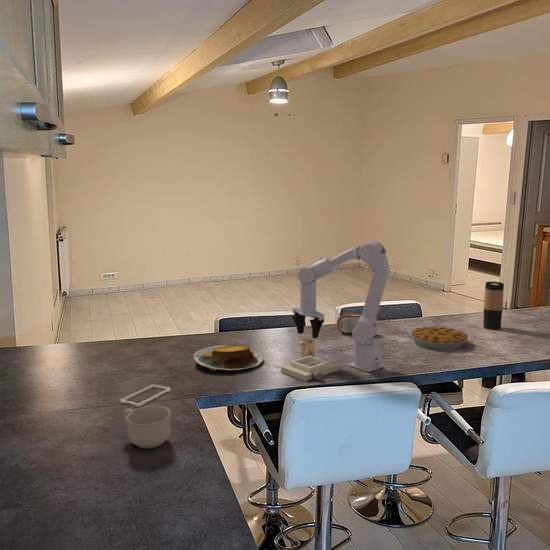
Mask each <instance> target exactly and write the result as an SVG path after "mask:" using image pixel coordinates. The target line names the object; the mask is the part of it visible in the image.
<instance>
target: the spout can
mask: <svg viewBox="0 0 550 550" xmlns="http://www.w3.org/2000/svg"><path fill="white" fill-rule="evenodd" d="M299 346H301V348H300V350H301V351H300V353H301V354H300V356H301V357H300V358H303V357H306V356H313V357H316V356H315V355H316V338H313V337H303V338H301V339H300V342H299Z"/></svg>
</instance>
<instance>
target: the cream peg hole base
mask: <svg viewBox="0 0 550 550" xmlns="http://www.w3.org/2000/svg"><path fill="white" fill-rule="evenodd" d="M339 367H340V366H339V364H338V363H334V362H331V361H328V360H326V359H325V360H324V359H323V358H320V357H316V356H315V357H313V356H306V357H303V358H301V357H299V358H297V359H294V360H290V362H289V364H288V363H287V364H286V365H283V366H281V367H280V373H281V372H282V374H284V373H285V374H284V375H287V376H289V375H290V376H289V377H292V376H293V378H295V379H298V380H300V379H301V381H302V382H308V380H309V381H312V380H315V381H318V382H321V381H323V379H324V376H325V375H329V374H332V373H335V372H338V371H339ZM337 370H338V371H337ZM334 371H335V372H334ZM331 372H332V373H331ZM328 373H329V374H328ZM311 379H312V380H311Z"/></svg>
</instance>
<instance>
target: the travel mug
mask: <svg viewBox="0 0 550 550" xmlns="http://www.w3.org/2000/svg"><path fill="white" fill-rule="evenodd" d="M484 285H485V286H484V288H485V289H484V298H483V299H484V300H483V302H484V303H483V327H482V328H484V329H486V330H490V331H491V330H492V331H499V330H501V328H502V319H503V306H504V286H505V284H504V282H499V281H486V282H485V284H484Z"/></svg>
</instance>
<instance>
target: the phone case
mask: <svg viewBox="0 0 550 550" xmlns="http://www.w3.org/2000/svg"><path fill="white" fill-rule="evenodd" d="M153 388H156V389H161V390H162V391H160V392H159V393H156V394H155V395H154V396H151V397H150V398H147V399H146V400H142V401H141V402H139V403H137V402H133V401H130V400H129V399H132V398H134V397H136V396H137V395H140V394H142V393H143V392H146V391H148V390H150V389H153ZM169 392H171V387H169V386H164V385H159V384H151V385H148V386H146V387H143V388H142V389H140V390H138V391H135V392H133V393H131V394H129V395H127V396H125V397H123V398H121V399H120V403H121V404H124V403H127V404H128V403H129V404H131V405H134V406H135V407H136V408H140V407H143V406H145V405H146V404H148V403H150V402H151V401H154V400H156V399H157V398H159V397H160V395H162V394H164V393H169ZM128 400H129V401H128Z"/></svg>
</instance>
